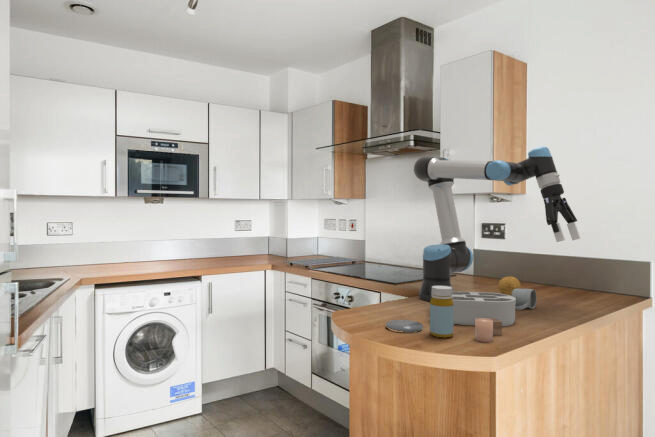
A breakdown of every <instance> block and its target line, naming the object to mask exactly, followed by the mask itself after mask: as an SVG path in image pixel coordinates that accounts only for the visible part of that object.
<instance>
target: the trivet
mask: <svg viewBox="0 0 655 437" xmlns="http://www.w3.org/2000/svg"><path fill="white" fill-rule="evenodd" d="M386 326H387V327H388V328H390V329H393V330H397V331H403V332H415V331H420V330H422V329H423V330H424V324H422V323H421V322H419V321H416V320H411V319H393V320H388V321H386V322H385V327H386ZM423 330H422V331H423ZM420 332H421V331H420Z"/></svg>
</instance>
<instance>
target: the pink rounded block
mask: <svg viewBox="0 0 655 437" xmlns="http://www.w3.org/2000/svg"><path fill="white" fill-rule="evenodd" d="M474 340H475V341H477V342H481V343H492V342H493V341H494V336H493V320H492V319H488V318H476V319H475V325H474Z"/></svg>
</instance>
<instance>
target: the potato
mask: <svg viewBox="0 0 655 437" xmlns="http://www.w3.org/2000/svg"><path fill="white" fill-rule="evenodd" d="M497 287H498V291H499V293H500V294H505V295H510V296H511V292H512V290H513V289H522V285H521V282H520V280H519V279H518V278H517V277H514V276H505V277H503V278H501V279H500V280H499V282H498V284H497Z"/></svg>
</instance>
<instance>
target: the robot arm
mask: <svg viewBox="0 0 655 437" xmlns="http://www.w3.org/2000/svg"><path fill="white" fill-rule="evenodd" d="M527 155H528V158H526V159H524V160H522V161H521V160H520V161H519V162H511V161H504V160H501V159H500V160H462V159H461V160H457V159H456V160H454V159H453V160H452V159H451V160H450V159H448V158H446V157H439V156H438V157H437V156H429V155H426V156H425V155H424V156H421V157H419V158H418V159H417V160H416V161H415V163H414V165H413V173H414V176H415V177H416V178H417V179H418V180H420V181H422V182H427V186H428V189H429V190H431V191H432V193H433V199H434V205H435V209H436V210H435V211H436V215H437V221H438V227H439V232H440V238H441V242H440V243H439V244H429V245H427V246H425V247H424V248H423V253H422V283H421V286H420V288H419V292H418V298H419V297H420V298H421V299H422V301H425V302H430V301H431V298H432V296H431V291H432V286H450V287H452V291H454V289H453V285H452V283H451V274H453V273H462V272H464V271H467V270H469V268H470V267H471V265H473V262H474V254H473V252H472V250H471V248H469V247H468V246H467V244H466V240H465V239H463V238H462V236H461V230H460V224H459V220H458V216H457V210H456V206H455V204H456V203H455V199H454V194H453V190H452V189H453V185H454V184H455V181H454V180H455V179H459V180H460V179H461V180H462V179H463V180H482V181H484V180H485V181H495V182H496V181H497V182H503V183H504V184H506V185H507V186H513V185H518V184H519V183H522V182H524V181H526V180H529V179H531V178H534V177H535V178H536V182H537V187H538V188H539V189H540V195H541V197H542V199H543V202H544V203H543V204H544V209H545V220H546V223H547V226H551V229H552V232H553V234H554V235H553V236H554V238H555V242H556V243H559V242H562V241H565V240H566V238H565V236H564V232H563V230H562V227H561V225H560V222H559V221H558V218H559V214H560V215H561V216H562V218H563V219H564V220H565V221H566V226H567V228H568V232H569V235H570V239H571V241H576V240H579V239H580V240H581V236H580V234H579V230H578V227H577V224H576V222H578V218H576V215H575V214H574V212H573V211H572V209H571V207H570V205H569V203H568V201H567V199H566V197H562V196H561V195H563V194H564V193H565V191H564V187H563V185H562V183H561V179H560V176H561V175H560V174H559V173H558V171H557V168H556V165H555V161H554V159H553V155H552V154H551V150H550V149H549V148H548V147H547V146H538V147H536V148H533V149H531V150H530V151H528V154H527ZM421 299H420V300H421Z"/></svg>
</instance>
